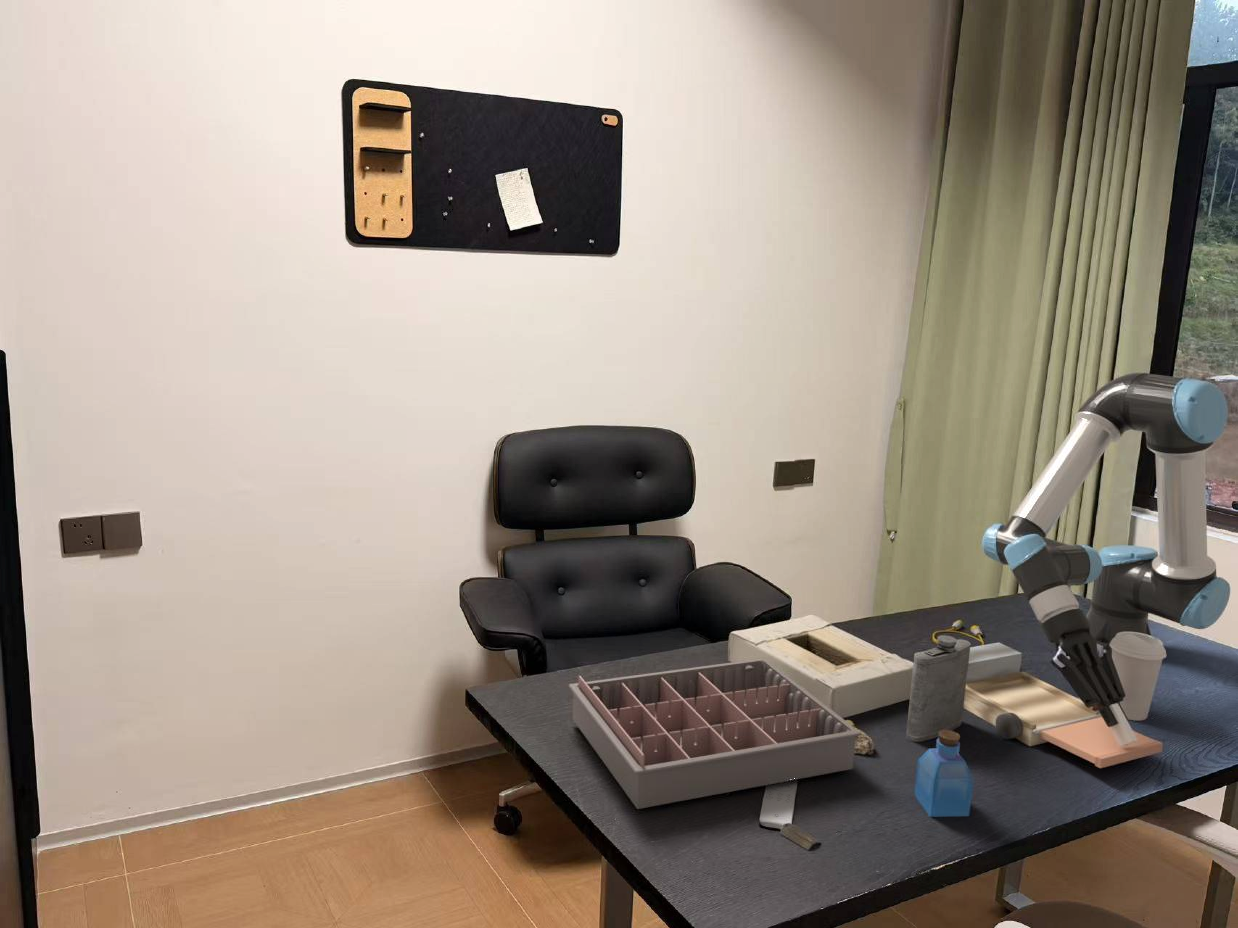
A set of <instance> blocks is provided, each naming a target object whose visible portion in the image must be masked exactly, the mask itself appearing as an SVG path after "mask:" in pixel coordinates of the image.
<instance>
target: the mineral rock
mask: <svg viewBox="0 0 1238 928" xmlns="http://www.w3.org/2000/svg"><path fill="white" fill-rule="evenodd" d="M845 721H846V722H848V723H849V724H850V725H852V726H853V727H854V728H856V729H857V730H858V731H859V732H861V734H862V735H859V736H856V738H855V749H854V754H861V755H866V754H868V755H872V754H874V749H875V745H876V744H875V743H874V742H873V739H872V738H871V737H870V736H869V735H867V733H866V732H864V731H862V730H861V729H859V728H858V727H857V726H855V724H854V722H853V721H852V720H849V719H846V720H845Z"/></svg>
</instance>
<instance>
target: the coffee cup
mask: <svg viewBox="0 0 1238 928" xmlns="http://www.w3.org/2000/svg"><path fill="white" fill-rule="evenodd" d="M1110 647H1111V648H1112V659H1113V662H1114V664H1115V667H1116V670H1117V673H1118V675H1119V678H1120V681H1121V684H1122V687H1123V689H1124V692H1125V695H1126V696H1125V697H1124V698H1123V701H1121V702H1120V705H1121V707H1122V709H1123V711H1124V713H1125V714H1126V716H1127V718H1128V721H1134V722H1135V721H1137V722H1138V721H1145V720H1146V719H1147V718H1148V716H1149V712H1150V709H1151V704H1152V701H1153V697H1154V692H1155V689H1156V685H1157V681H1158V676H1159V674H1160V670H1161V666H1162V662H1163V661H1164V659H1165V658H1166V657H1167V651H1166V648H1165V647H1164V642H1163V641H1162V640H1160V638H1157V637H1156V636H1153V635H1151V636H1150V635H1147V634H1143V633H1138V632H1119V633H1117V634H1116V636H1115V637H1114V638H1113V639H1112V641H1111V642H1110Z"/></svg>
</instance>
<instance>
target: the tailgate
mask: <svg viewBox="0 0 1238 928" xmlns="http://www.w3.org/2000/svg"><path fill="white" fill-rule="evenodd" d="M1133 732H1134V734H1135V736H1136V738H1137V741H1135V742H1133V743H1130V744H1128V745H1126V746H1122V747H1120V746H1119V744H1118V742H1117V740H1116V738H1115V736H1114V734H1113V733H1112V731H1111V729H1110V727H1108V726H1107V725H1106V723H1105V721H1104V719H1103V717H1102V715H1101V714H1098V715H1094V716H1090V717H1086V718H1081V719H1077V720H1073V721H1068V722H1064V723H1060V724H1056V725H1051V726H1047V727H1043V728H1038V729H1034V730H1032V733H1033V734H1034V735H1037V734H1041V738H1042V739H1045V740H1047V741H1049V743H1051V744H1053V745H1055V746H1058V748H1059V747H1060V748H1061V749H1063V750H1066V751H1067V752H1069V753H1071V754H1073V755H1076V756H1078V757H1080V758H1082V759H1084V760H1086V761H1089V762H1090V763H1092V764H1094V766H1095V767H1097V768H1099V769H1103V768H1107V767H1110V766H1115V765H1118V764H1121V763H1127V762H1129V761H1132V760H1137V759H1140V758H1144V757H1148V756H1152V755H1156V754H1159V753H1162V752H1163V746H1164V744H1163V742H1161V741H1159V740H1156V739H1153V738H1151V737H1148V736H1146V735H1144V734H1141V733H1139V732H1137V731H1135V730H1133Z"/></svg>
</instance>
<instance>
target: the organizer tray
mask: <svg viewBox="0 0 1238 928" xmlns="http://www.w3.org/2000/svg"><path fill="white" fill-rule="evenodd" d="M568 687H569V689H570V690H571V691H572V693H573V695H572V697H573V700H572V701H573V702H572V721H574V723H575V725H576V726H577V727H578V729H579V730H580V732H581V733H582V734H583V736H584V737H585V739H586V740H587V741H588V743H589V744H590V745H591V747H592V748H593V750H594V751H595V752H596V753H597V755H598V756H599V758H600V759H601V760H602V762H603V763H604V765H605V766H606V767H607V770H608V771H609V772H610V773H611V774H612V776H613V777H614V779H615V780H616V782H617V783H618V784H619V786H620V787H621V788H622V790H623V791H624V793H625V794H626V796H627V797H628V798H629V799H630V801H631V802H632V804H633V805H634V807H635V808H636V809H637V810H639V809H644V808H649V807H650V808H651V807H655V806H661V805H666V804H672V803H677V802H683V801H688V800H693V799H698V798H703V797H710V796H713V795H719V794H725V793H731V792H735V791H740V790H741V791H742V790H746V789H752V788H757V787H762V786H767V785H768V784H769V785H773V784H777V783H778V782H779V783H783V782H784V781H785V782H788V781H787V780H790V779H794V778H795V780H799V779H805V778H812V777H816V776H821V775H827V774H833V773H837V772H842V771H843V772H844V771H849V770H853V769H854V758H855V753H854V749H855V738H856V736H859V735H862V734H861V732H859V731H858V730H859V729H858V728H857V727H856V728H857V729H858V730H857V729H856V728H854V727H853V726H852V725H850V724H849V723H848V722H846V720H845V719H844V718H841V717H840V716H839V715H837V714H836V713H835V712H834V711H832V710H831V709H830V708H828V707H827V706H826V705H825V704H823V703H822V702H821V701H819V700H818V699H817V698H816V697H814V696H813V695H812V694H810V693H809V692H808V691H807V690H805V689H804V688H803V687H801V686H800V685H799V684H797V683H796V682H795V681H794V680H792V679H791V678H790V677H788V676H787V675H786V674H785V673H783V672H782V671H781V670H779V669H778V668H777V667H776V666H774V665H773V664H772V663H770V662H769V661H768V660H767V659H765V658H762V659H754V660H747V661H739V662H727V663H720V664H711V665H703V666H695V667H694V666H693V667H689V668H688V667H687V668H682V669H681V668H679V669H672V670H665V671H659V672H651V673H650V672H649V673H643V674H636V675H635V674H634V675H629V676H628V675H627V676H620V677H613V678H607V679H600V680H599V679H598V680H597V679H596V680H592V681H591V680H590V681H585V680H584V678H583V677H582V676H581V675H578V681H577V682H575V683H569V684H568ZM790 781H791V780H790Z"/></svg>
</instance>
